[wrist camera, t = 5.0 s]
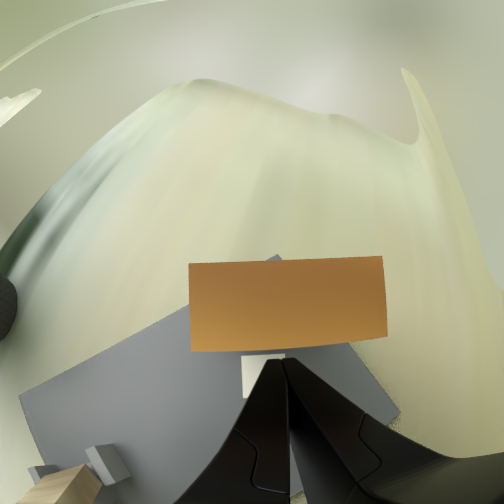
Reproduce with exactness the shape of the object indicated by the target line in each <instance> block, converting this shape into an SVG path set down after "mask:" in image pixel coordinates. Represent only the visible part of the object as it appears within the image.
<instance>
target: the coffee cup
mask: <svg viewBox="0 0 504 504" xmlns="http://www.w3.org/2000/svg"><path fill="white" fill-rule="evenodd" d="M16 309H17V295H16V290H15V288H14V286H13V284H12V283H11V282H10V281H9V280H8V279H7V278H6V277H5V276H4V275H3V274H2V273H1V272H0V341H1V340H2V339H3V338H4V337H5V336H6V335H7V333H8V332H9V330H10V328H11V326H12V324H13V321H14V318H15V314H16Z"/></svg>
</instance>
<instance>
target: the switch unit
mask: <svg viewBox="0 0 504 504" xmlns="http://www.w3.org/2000/svg"><path fill="white" fill-rule="evenodd" d="M277 260H282V259H281V258H280V256H279V255H278V254H277V255H275V256H273V257H271V258H270V259H268V260H266V261H277ZM289 357H295V358H296V359H298V360H299V361H300V362H301V363H303V364H304V365H305V366H306V367H308V368H309V369H310V370H311V371H313V372H314V373H315V374H316V375H318V376H319V377H320V378H322V379H323V380H324V381H325V382H327V383H328V384H329V385H331V386H332V387H333V388H335V389H336V390H337V391H338V392H340V393H341V394H342V395H344V396H345V397H346V398H348V399H349V400H350V401H352V402H353V403H354V404H356V405H357V406H359V407H360V408H361V409H363V410H364V411H365V413H368V414H370V415H371V416H372V417H374V418H375V419H377V420H378V421H380V422H381V423H383V424H384V425H386V426H387V425H388V424H389V423H390V422H391V421H392V420H393V419H394V418H395V417H396V416H397V415H398V414H399V413H400V411H399V409H398V408H397V407H396V405H395V404H394V403H393V401H392V400H391V399H390V397H389V396H388V395H387V393H386V392H385V391H384V389H383V388H382V387H381V385H380V384H379V383H378V381H377V380H376V379H375V377H374V376H373V375H372V374H371V372H370V371H369V370H368V368H367V367H366V366H365V364H364V363H363V362H362V360H361V359H360V358H359V357H358V355H357V354H356V353H355V351H354V350H353V349H352V348H351V346H350V345H349V344H348V342H346V343H338V344H330V345H321V346H311V347H300V348H287V349H273V350H254V351H223V352H191V336H190V309H189V304H188V305H187V306H185V307H183V308H181V309H180V310H178V311H176V312H174V313H172V314H170V315H169V316H167V317H165V318H163V319H161V320H160V321H158V322H156V323H154V324H152V325H151V326H149V327H147V328H145V329H143V330H141V331H140V332H138V333H136V334H134V335H132V336H130V337H129V338H127V339H125V340H123V341H121V342H119V343H118V344H116V345H114V346H112V347H110V348H108V349H107V350H105V351H103V352H101V353H99V354H97V355H95V356H93V357H92V358H90V359H88V360H86V361H84V362H82V363H80V364H79V365H77V366H75V367H73V368H71V369H69V370H67V371H65V372H63V373H62V374H60V375H58V376H56V377H54V378H52V379H50V380H48V381H46V382H44V383H42V384H41V385H39V386H37V387H35V388H33V389H31V390H29V391H27V392H25V393H23V394H21V395H19V399H20V402H21V405H22V408H23V411H24V414H25V417H26V420H27V423H28V426H29V428H30V431H31V433H32V436H33V438H34V441H35V443H36V446H37V448H38V450H39V452H40V455H41V457H42V459H43V461H44V463H45V466H35V467H31V468H28V470H29V472H30V475H31V477H32V479H33V481H34V483H35V484H37V483H38V482H39V481H40V480H41V479H42V478H43V477H44V476H46V475H49V474H53V473H56V472H60V471H63V470H66V469H70V468H73V467H76V466H79V465H82V464H85V463H86V465H87V466H88V467H89V468H90V470H91V471H92V472H93V473H94V474H95V476H96V477H97V478H98V479H99V480H100V482H101V483H102V486H101V488H100V490H99V492H98V494H97V495H96V497H95V499H94V501H93V503H92V504H173V503H174V502H175V501H176V500H177V499H178V498H179V497H180V496H181V495H182V494H183V493H184V492H185V491H186V489H187V488H188V487H189V486H190V485H191V484H192V483H193V482H194V480H195V479H196V478H197V477H198V476H199V475H200V473H201V472H202V471H203V470H204V469H205V468H206V466H207V465H208V464H209V463H210V461H211V460H212V459H213V457H214V456H215V455H216V453H217V452H218V450H219V449H220V447H221V446H222V444H223V442H224V441H225V439H226V437H227V436H228V434H229V432H230V430H231V429H232V427H233V425H234V423H235V421H236V419H237V417H238V415H239V413H240V412H241V410H242V408H243V406H244V404H245V402H246V400H247V398H248V396H249V394H250V392H251V390H252V388H253V386H254V384H255V382H256V380H257V378H258V376H259V374H260V372H261V370H262V368H263V366H264V364H265V362H266V360H267V359H276V358H279V359H282V358H289ZM302 490H304V489H303V486H302V482H301V479H300V475H299V472H298V468H297V465H296V461H295V458H294V454H293V451H292V447H291V444H290V498H291V497H292V496H294V495H296V494H297V493H299V492H301V491H302Z"/></svg>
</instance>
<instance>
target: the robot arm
mask: <svg viewBox="0 0 504 504" xmlns="http://www.w3.org/2000/svg"><path fill="white" fill-rule="evenodd" d="M290 444H291V447H292V451H293V454H294V458H295V461H296V465H297V468H298V472H299V475H300V479H301V482H302V486H303V489H304V493H305V496H306V499H307V503H308V504H504V452H502V453H496V454H491V455H484V456H477V457H470V458H453V457H448V456H444V455H442V454H439V453H437V452H435V451H433V450H431V449H429V448H427V447H425V446H423V445H420V444H418V443H416V442H414V441H412V440H411V439H409V438H407V437H405V436H403V435H401V434H399V433H398V432H396V431H394V430H392V429H390V428H389V427H387V426H386V425H384V424H383V423H381V422H380V421H378V420H377V419H375V418H374V417H372V416H371V415H370V414H368V413H365V411H364V410H363V409H361V408H360V407H359V406H357V405H356V404H354V403H353V402H352V401H350V400H349V399H348V398H346V397H345V396H344V395H342V394H341V393H340V392H338V391H337V390H336V389H335V388H333V387H332V386H331V385H329V384H328V383H327V382H325V381H324V380H323V379H322V378H320V377H319V376H318V375H316V374H315V373H314V372H313V371H311V370H310V369H309V368H308V367H306V366H305V365H304V364H303V363H301V362H300V361H299V360H298V359H296V358H295V357H289V358H282V359H279V358H276V359H267V360H266V362H265V364H264V366H263V368H262V370H261V372H260V374H259V376H258V378H257V380H256V382H255V384H254V386H253V388H252V390H251V392H250V394H249V396H248V398H247V400H246V402H245V404H244V406H243V408H242V410H241V412H240V413H239V415H238V417H237V419H236V421H235V423H234V425H233V427H232V429H231V430H230V432H229V434H228V436H227V437H226V439H225V441H224V442H223V444H222V446H221V447H220V449H219V450H218V452H217V453H216V455H215V456H214V457H213V459H212V460H211V461H210V463H209V464H208V465H207V466H206V468H205V469H204V470H203V471H202V472H201V473H200V475H199V476H198V477H197V478H196V479H195V480H194V482H193V483H192V484H191V485H190V486H189V487H188V488H187V489H186V491H185V492H184V493H183V494H182V495H181V496H180V497H179V498H178V499H177V500H176V501H175V502H174V503H173V504H290Z"/></svg>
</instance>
